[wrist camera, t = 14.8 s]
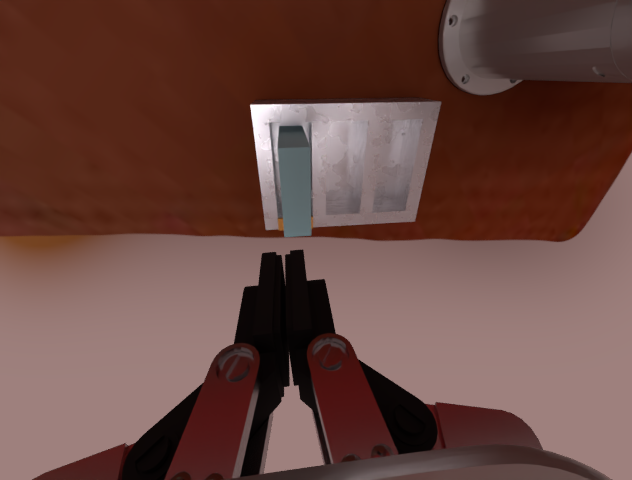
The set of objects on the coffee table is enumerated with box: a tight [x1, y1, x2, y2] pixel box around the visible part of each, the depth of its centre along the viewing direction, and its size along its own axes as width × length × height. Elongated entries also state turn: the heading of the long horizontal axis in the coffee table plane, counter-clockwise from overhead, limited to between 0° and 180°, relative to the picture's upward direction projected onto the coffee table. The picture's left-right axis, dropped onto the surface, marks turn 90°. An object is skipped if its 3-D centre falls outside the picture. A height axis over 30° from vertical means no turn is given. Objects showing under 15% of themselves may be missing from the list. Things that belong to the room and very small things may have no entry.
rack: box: [250, 98, 441, 230], centre depth 30 cm, size 18×13×5 cm
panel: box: [278, 126, 311, 237], centre depth 27 cm, size 2×8×10 cm, turn 0°
